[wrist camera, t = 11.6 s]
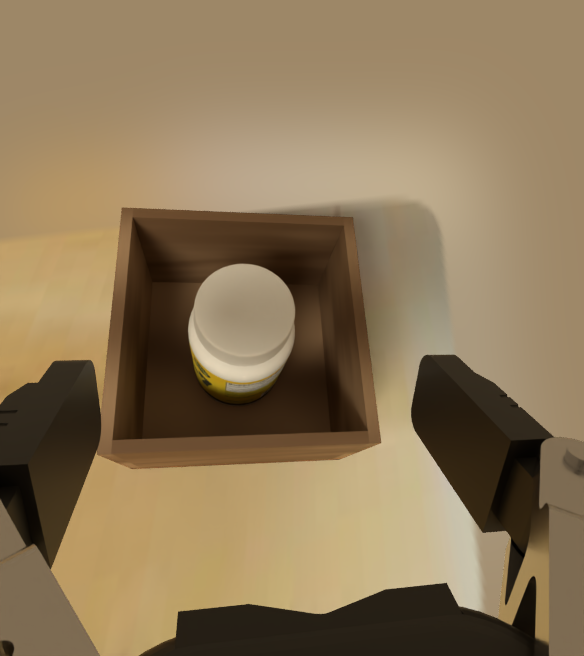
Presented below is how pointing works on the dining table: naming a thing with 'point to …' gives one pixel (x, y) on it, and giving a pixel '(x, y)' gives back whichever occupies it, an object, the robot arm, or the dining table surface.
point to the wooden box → (176, 359)
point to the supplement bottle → (241, 333)
